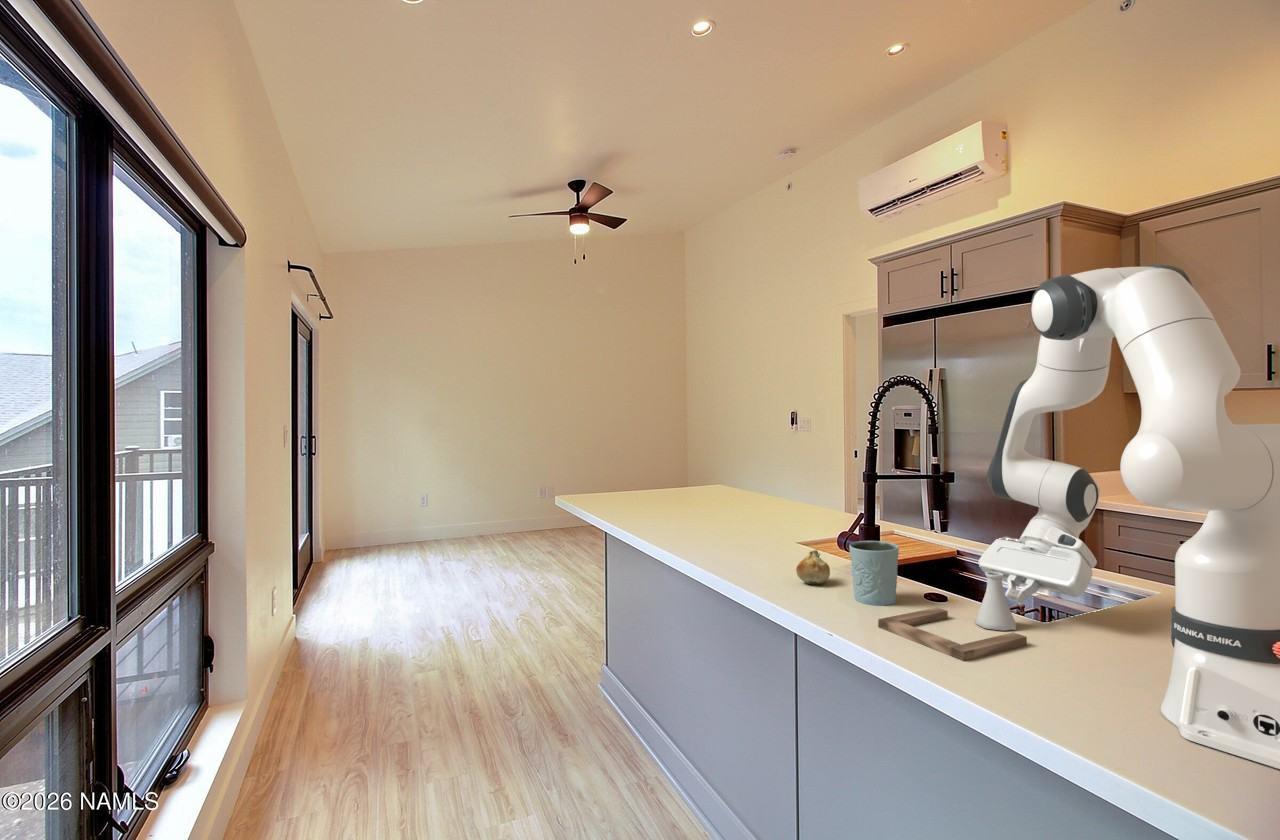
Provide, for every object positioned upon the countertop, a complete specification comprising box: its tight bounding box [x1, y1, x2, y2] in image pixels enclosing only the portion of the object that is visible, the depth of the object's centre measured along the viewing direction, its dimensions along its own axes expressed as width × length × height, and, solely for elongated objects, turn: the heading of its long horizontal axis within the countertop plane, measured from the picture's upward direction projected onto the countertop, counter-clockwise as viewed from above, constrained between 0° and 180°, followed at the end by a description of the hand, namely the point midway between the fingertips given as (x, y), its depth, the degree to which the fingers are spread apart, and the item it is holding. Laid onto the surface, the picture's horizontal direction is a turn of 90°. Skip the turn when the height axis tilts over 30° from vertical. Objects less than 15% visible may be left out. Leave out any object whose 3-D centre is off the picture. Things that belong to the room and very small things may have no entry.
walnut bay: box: [877, 607, 1028, 662], centre depth 120 cm, size 19×16×2 cm
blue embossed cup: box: [848, 540, 900, 607], centre depth 142 cm, size 10×10×12 cm
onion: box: [795, 549, 831, 586], centre depth 157 cm, size 8×8×8 cm
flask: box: [974, 572, 1017, 631], centre depth 125 cm, size 7×7×10 cm
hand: (1013, 599), depth 126 cm, fingers closed
